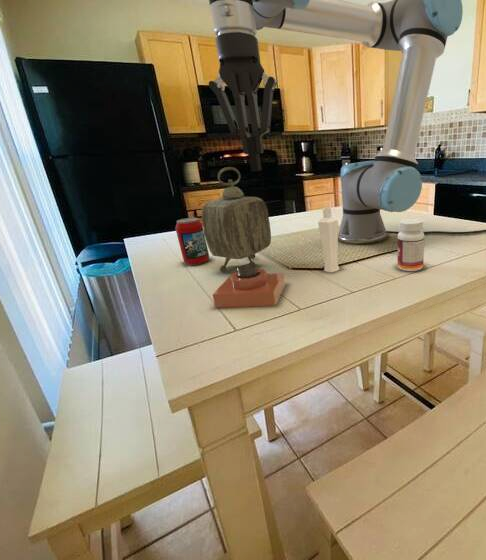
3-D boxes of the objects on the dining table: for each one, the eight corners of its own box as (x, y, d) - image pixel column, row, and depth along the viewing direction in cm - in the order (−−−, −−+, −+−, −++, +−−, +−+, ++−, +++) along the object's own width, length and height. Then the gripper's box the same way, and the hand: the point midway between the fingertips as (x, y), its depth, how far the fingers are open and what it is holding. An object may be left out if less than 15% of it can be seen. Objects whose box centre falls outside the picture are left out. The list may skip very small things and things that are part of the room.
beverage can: (195, 267, 90) (184, 223, 86) (179, 264, 94) (168, 221, 89) (215, 259, 96) (206, 217, 91) (199, 256, 99) (190, 216, 95)
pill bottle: (398, 262, 84) (398, 218, 80) (423, 263, 83) (424, 218, 79) (396, 271, 79) (396, 224, 75) (423, 272, 78) (425, 224, 73)
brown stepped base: (285, 285, 75) (282, 264, 73) (275, 305, 66) (271, 282, 64) (232, 287, 76) (228, 267, 74) (215, 308, 66) (210, 284, 64)
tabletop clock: (253, 256, 96) (237, 165, 87) (277, 260, 92) (264, 164, 83) (213, 273, 85) (190, 170, 75) (239, 278, 81) (218, 169, 71)
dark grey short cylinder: (261, 272, 71) (259, 263, 70) (255, 279, 67) (254, 269, 66) (242, 272, 71) (240, 263, 70) (236, 280, 67) (234, 270, 66)
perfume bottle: (338, 272, 80) (334, 210, 75) (321, 272, 81) (315, 210, 76) (342, 266, 84) (339, 206, 79) (326, 266, 85) (321, 206, 80)
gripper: (192, 33, 58) (219, 174, 67) (266, 27, 58) (283, 170, 67) (209, 44, 65) (232, 171, 74) (275, 39, 65) (290, 167, 74)
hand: (256, 170), depth 71 cm, fingers closed
